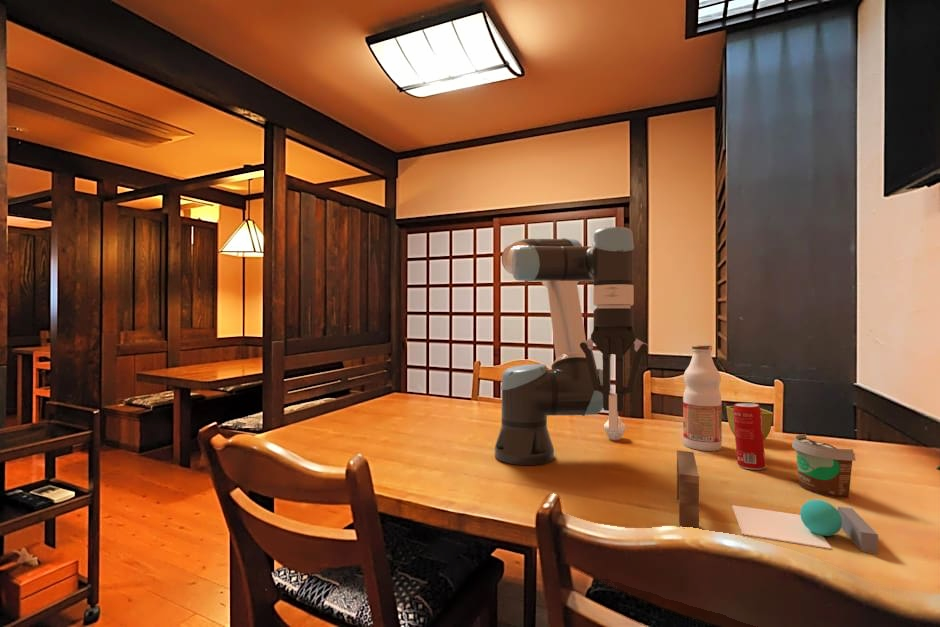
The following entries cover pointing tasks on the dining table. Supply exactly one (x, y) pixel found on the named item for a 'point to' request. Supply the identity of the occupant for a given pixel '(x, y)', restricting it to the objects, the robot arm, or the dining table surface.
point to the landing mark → (777, 526)
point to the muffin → (615, 433)
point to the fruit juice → (702, 402)
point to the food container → (823, 467)
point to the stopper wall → (858, 530)
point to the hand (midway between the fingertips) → (613, 427)
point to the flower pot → (766, 420)
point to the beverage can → (749, 436)
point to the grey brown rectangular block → (687, 489)
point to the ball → (821, 517)
